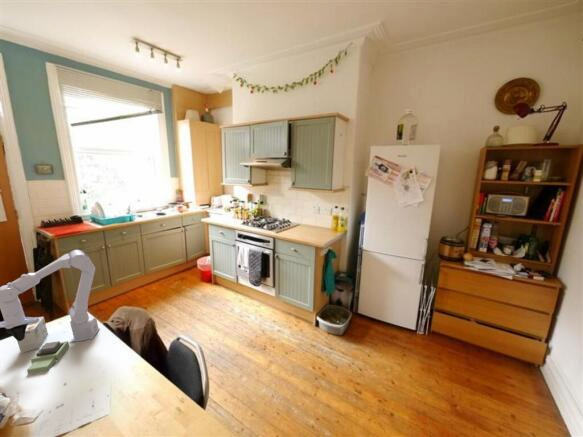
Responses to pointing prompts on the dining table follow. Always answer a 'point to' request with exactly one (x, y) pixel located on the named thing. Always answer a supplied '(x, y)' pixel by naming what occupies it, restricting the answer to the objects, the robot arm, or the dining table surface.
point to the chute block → (49, 348)
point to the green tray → (47, 360)
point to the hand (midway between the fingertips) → (21, 339)
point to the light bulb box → (34, 336)
